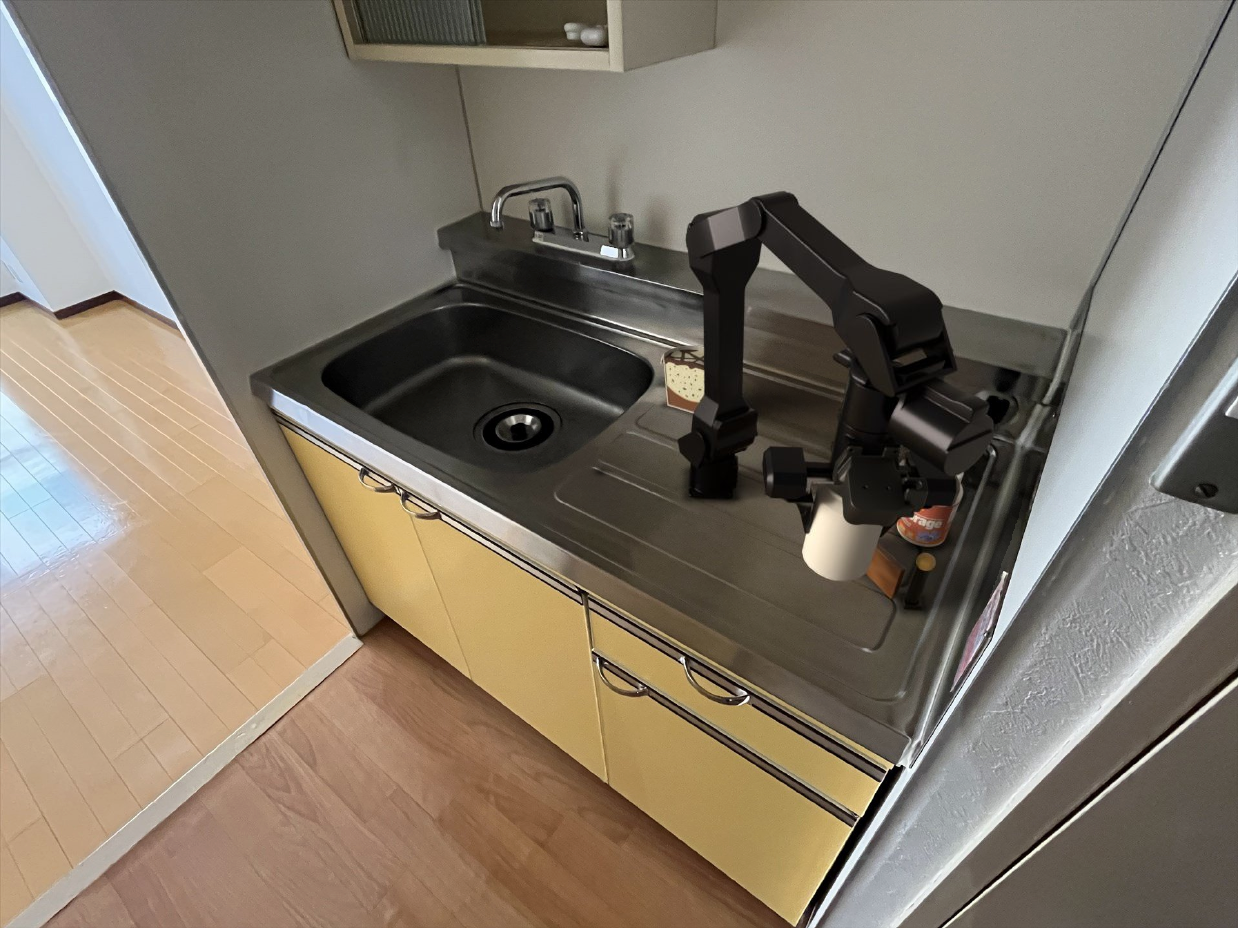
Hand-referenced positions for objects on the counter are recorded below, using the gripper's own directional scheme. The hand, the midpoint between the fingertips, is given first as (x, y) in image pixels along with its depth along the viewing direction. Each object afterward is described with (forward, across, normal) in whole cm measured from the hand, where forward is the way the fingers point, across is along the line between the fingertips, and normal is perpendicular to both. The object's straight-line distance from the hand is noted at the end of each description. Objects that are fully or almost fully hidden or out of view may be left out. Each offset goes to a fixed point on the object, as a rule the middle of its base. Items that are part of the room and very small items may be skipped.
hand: (841, 533), depth 72 cm
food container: (+11, -16, +42) cm, 46 cm away
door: (+11, +5, +5) cm, 13 cm away
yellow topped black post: (+11, +10, 0) cm, 15 cm away
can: (+5, 0, 0) cm, 5 cm away
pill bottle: (+11, +14, +12) cm, 22 cm away
